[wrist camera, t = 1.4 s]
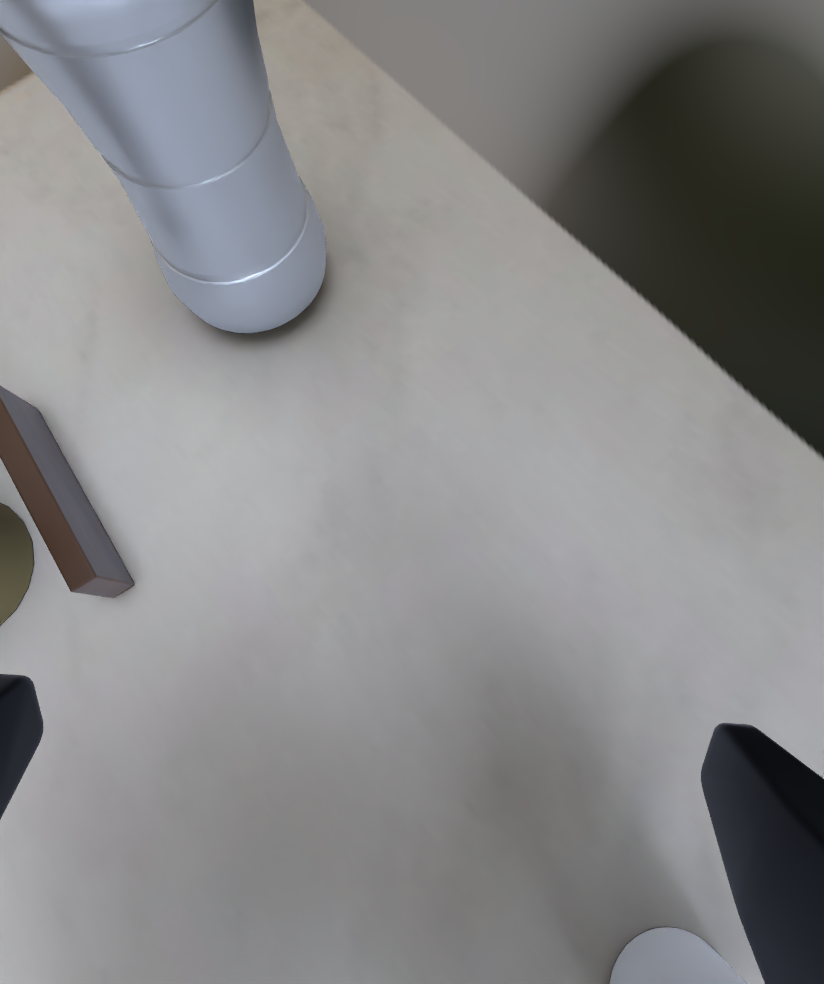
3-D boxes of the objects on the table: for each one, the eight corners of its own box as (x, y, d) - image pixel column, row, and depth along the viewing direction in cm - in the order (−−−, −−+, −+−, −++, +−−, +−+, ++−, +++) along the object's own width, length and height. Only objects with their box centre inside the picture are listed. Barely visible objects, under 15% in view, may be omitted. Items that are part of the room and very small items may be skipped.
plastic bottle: (363, 294, 27) (224, -611, 7) (238, 381, 26) (-296, -398, 7) (280, 197, 28) (-24, -791, 9) (157, 277, 27) (-491, -633, 8)
